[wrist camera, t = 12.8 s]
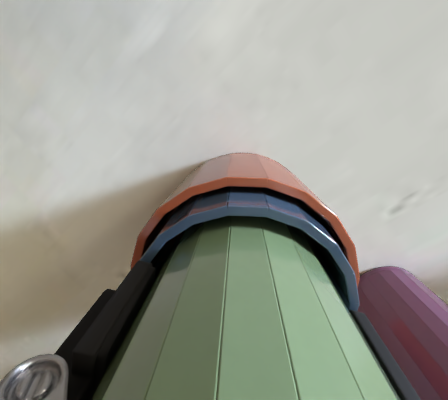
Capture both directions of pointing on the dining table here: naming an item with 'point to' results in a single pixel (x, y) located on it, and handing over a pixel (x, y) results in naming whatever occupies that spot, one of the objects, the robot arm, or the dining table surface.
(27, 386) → the robot arm
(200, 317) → the sage cup
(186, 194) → the stack bottom
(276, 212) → the stack
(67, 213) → the dining table surface
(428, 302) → the plum cup
